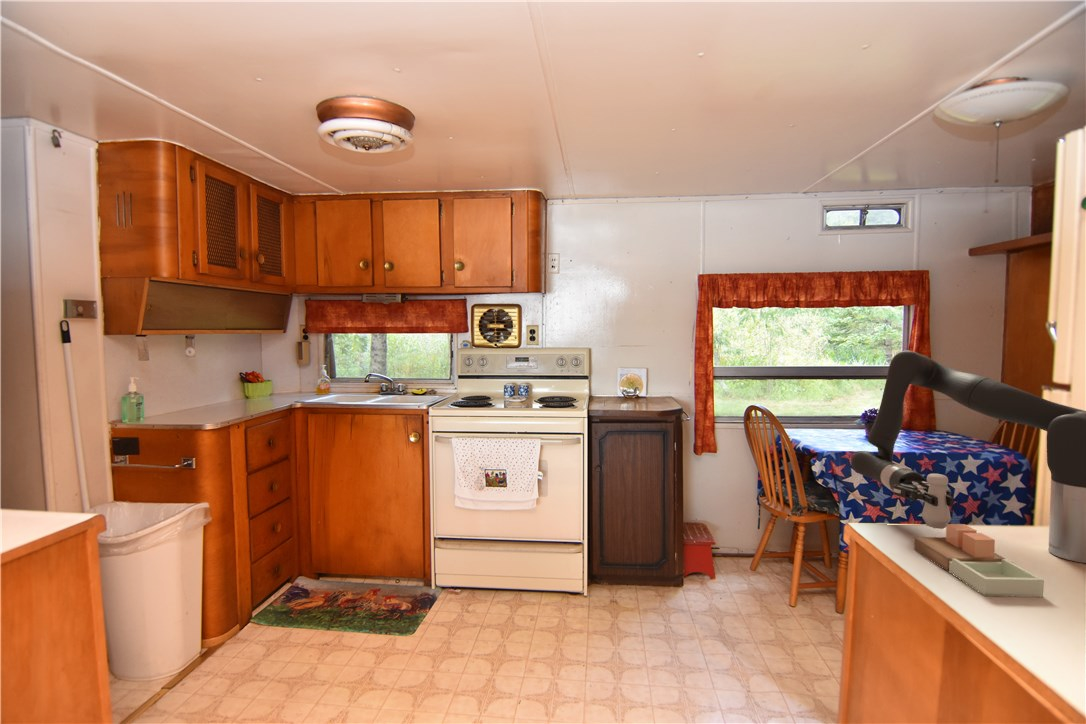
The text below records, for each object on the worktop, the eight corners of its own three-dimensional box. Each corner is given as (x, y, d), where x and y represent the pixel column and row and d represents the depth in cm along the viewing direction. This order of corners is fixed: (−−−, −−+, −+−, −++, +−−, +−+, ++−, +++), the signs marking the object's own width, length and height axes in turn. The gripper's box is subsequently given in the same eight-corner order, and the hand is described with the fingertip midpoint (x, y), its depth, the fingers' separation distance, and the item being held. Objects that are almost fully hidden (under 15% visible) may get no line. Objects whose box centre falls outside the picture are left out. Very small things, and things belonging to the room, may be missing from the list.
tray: (1002, 573, 118) (1002, 557, 118) (1043, 597, 107) (1043, 579, 107) (949, 572, 119) (949, 556, 118) (984, 596, 108) (985, 579, 108)
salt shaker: (940, 521, 138) (943, 471, 137) (955, 530, 132) (958, 478, 131) (916, 521, 138) (918, 471, 137) (930, 529, 133) (932, 478, 132)
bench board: (966, 549, 130) (966, 537, 130) (1005, 572, 118) (1005, 558, 118) (914, 549, 131) (914, 537, 131) (947, 571, 119) (947, 558, 119)
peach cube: (980, 550, 123) (981, 532, 122) (994, 557, 119) (994, 539, 118) (962, 550, 123) (962, 532, 123) (975, 557, 119) (975, 539, 119)
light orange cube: (963, 540, 128) (964, 524, 128) (976, 547, 124) (976, 530, 124) (946, 540, 128) (946, 524, 128) (957, 547, 124) (958, 530, 124)
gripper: (876, 467, 149) (914, 487, 132) (929, 467, 148) (975, 487, 131) (875, 494, 150) (913, 517, 132) (928, 494, 149) (974, 517, 131)
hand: (944, 502), depth 132 cm, fingers closed on salt shaker, 3 cm apart
